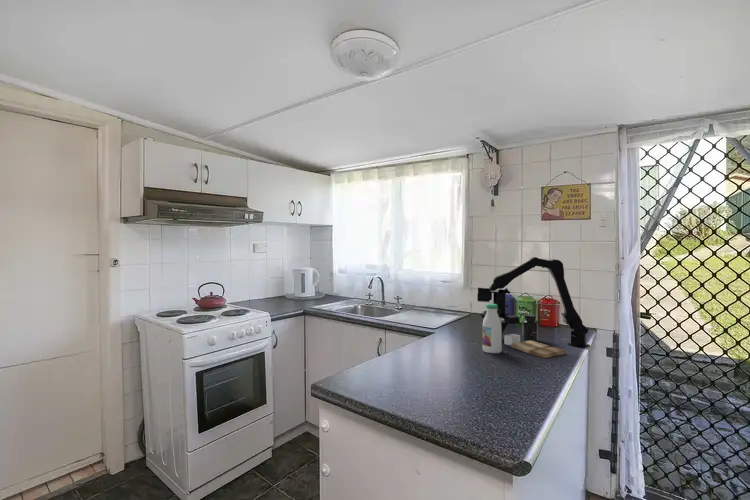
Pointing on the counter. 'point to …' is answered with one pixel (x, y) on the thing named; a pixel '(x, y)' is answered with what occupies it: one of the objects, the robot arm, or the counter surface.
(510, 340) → the block
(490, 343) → the milk bottle
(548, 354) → the floorboard
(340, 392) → the counter surface
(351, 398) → the counter surface
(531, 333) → the supplement bottle
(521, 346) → the plank
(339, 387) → the counter surface
